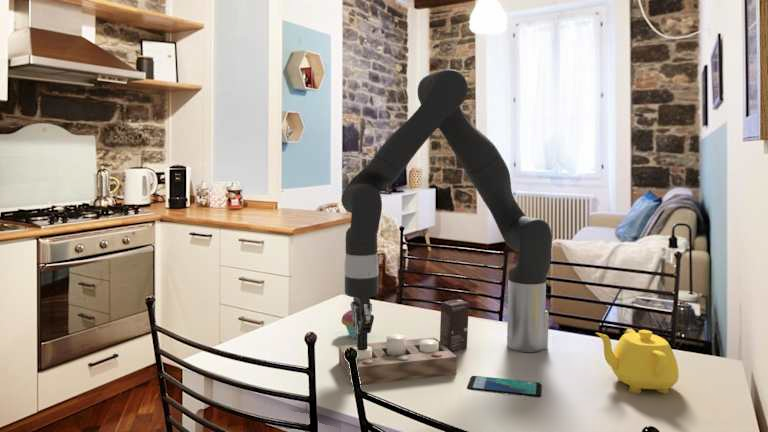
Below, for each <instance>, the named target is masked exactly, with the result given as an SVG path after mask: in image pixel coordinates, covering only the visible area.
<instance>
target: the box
mask: <svg viewBox="0 0 768 432" xmlns="http://www.w3.org/2000/svg"><path fill="white" fill-rule="evenodd" d="M469 306H470V302H469V301H465V300H463V299H459V298H457V299H450V300H446V301H441V302H440V327H439V328H440V329H439V342H441V343H442V344H443V345H444V346H445V347H446V348H447V349H449V350H450V351H451V352H454V351H458V350H462V349H467V348H468V336H469V335H468V332H469V331H468V330H469V327H468V326H469V310H470V309H469Z"/></svg>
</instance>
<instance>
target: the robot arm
mask: <svg viewBox="0 0 768 432" xmlns="http://www.w3.org/2000/svg"><path fill="white" fill-rule="evenodd" d="M468 85H469V84H468V81H467V79H466V78H465V76H464V75H463V74H462V73H461V72H459V71H458V70H456V69H442V70H439V71H436V72H433V73H430V74H428V75H425V76H424V77H423V78H422V79H421V80H420V81H419V84H418V86H417V98H418V100H419V103H420V106H418V108H417V109H416V111H415V112H413V114H412V115H411V116H410V117H409V118H408V120H406V121H405V122H404V123H403V124H402V125H400V127H398V129H396V130H395V131H394V132H393V133H392V134H391V135H390V136H389V137H388V138H387V139H386V140H385V142H384V143H383V144H382V145H381V146H380V148H379V150H378V151H377V152H376V153H375V154H374V155H373V157H372V158H371V160H370V161H369V163H368V164H367V165H366V166H365V167H364V168H363V169H361V170H360V171H359V173H357V174H356V175H355V176H354V177H353V179H351V180H350V182H349V183H348V184H347V185H346V187H345V188H344V189H343V192H342V194H341V205H342V207H343V208H344V209H345V210H346V212H348V213H350V214H351V215H350V218H351V219H350V227H349V228H347V230H346V231H345V258H344V294H345V295H346V296H348V297H351V298H353V299H352V300H353V301H351V303H350V304H349V305H350V308H351V310H352V317H353V326H354V327H355V331H356V332H357V333H356V338H355V339H356V341H355V342H356V343H355V345H356V347H357V348H358V350H366V349H367V344H368V334H371V332H372V327H373V324H374V320H375V317H374V314H372V311H373V304H372V302H371V300H370V299H371V298H372V297H375V296H377V295H379V259H378V231H379V226H380V222H381V218H382V210H383V201H382V196H381V191H382V190H383V189H384V188H386V187H388V186H390V185H392V184H393V183H395V181H396V180H397V179H398V178H399V176H401V174H402V172H403V171H404V170H405V168H406V167H407V166H408V164H409V163H410V162H411V160H412V159H413V158H414V156H415V155H417V153H418V151H419V150H420V149H421V147H423V145H424V144H425V143H426V141H427V140H428V139H429V138H430V137H431V135H433V134H434V132H436V130H437V129H438V130H439V131H440V132H441V134H442V135H443V137H444V138H445V141H447V143H448V144H449V147H450V148H451V150H452V152H453V154H454V155H455V156H456V158H457V160H458V161H459V163H460V165H461V166H462V168H463V170H464V172H465V173H466V176H467V177H468V178H469V180H470V182H471V183H472V185H473V186H474V188H475V190H476V191H477V192H478V195H480V197H481V200H482V201H483V202H484V204H485V205H486V207H487V209H488V210H489V212H490V213H491V215H492V217H493V220H494V222H495V224H496V226H497V228H498V230H499V232H500V235H501V237H502V238H503V240H504V243H505V244H506V246H508V248H509V249H511V250H512V251H514V252H517V253H518V259H517V264H516V265H515V266H512V267H510V268H509V270H508V280H507V282H508V287H507V288H508V289H507V294H508V295H507V326H506V327H507V333H506V335H507V336H506V346H507V347H508V348H509V349H511V350H514V351H517V352H523V353H537V352H541V351H543V350H545V349H548V348H549V347H548V346H549V343H548V342H549V320H550V319H549V316H550V315H549V311H548V310H546V301H547V300H546V299H547V296H546V295H547V291H546V290H547V277H548V276H547V275H548V273H549V271H550V268H551V258H552V257H551V256H552V246H553V238H552V237H553V236H552V230H551V227H550V225H549V224H548V223H547V222H546V221H545V220H544V219H541V218H537V217H531V216H527V215H526V214H525V212H523V210H522V208H520V205H519V204H518V202H517V200H516V199H515V197H514V195H513V191H512V180H511V175H510V171H509V168H508V166H507V164H506V161H505V160H504V158H503V157H502V155H501V153H500V151H499V150H498V148H497V147H496V146H495V144H494V143H493V142H492V141H491V140H490V139H489V138H488V137H487V136H486V135H485V134H484V133H482V132H481V131H480V129H478V128H477V127H476V126H475V125H473V123H472V122H471V121H470V120H469V119H468V118H467V117H466V115H465V114H464V112H463V110H462V108H461V105H462V104H464V102H465V100H466V98H467V96H468V90H469V89H468Z"/></svg>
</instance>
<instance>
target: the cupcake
mask: <svg viewBox="0 0 768 432" xmlns="http://www.w3.org/2000/svg"><path fill="white" fill-rule="evenodd" d="M341 324H342V325H344V326H345V328H346V330H347V333H348V336H349V337H350V338H352V337H353V339H356V333H357V332H356V331H355V327H354V326H353V317H352V310H350V309H349V310H347V312H345V313H344V314H343V315H342V317H341Z"/></svg>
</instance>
